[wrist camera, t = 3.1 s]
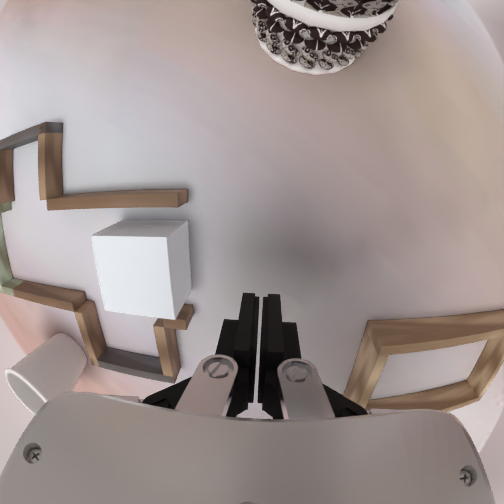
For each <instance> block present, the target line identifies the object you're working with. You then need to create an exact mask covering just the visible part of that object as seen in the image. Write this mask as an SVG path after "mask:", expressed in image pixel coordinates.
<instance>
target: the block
mask: <svg viewBox="0 0 504 504" xmlns="http://www.w3.org/2000/svg"><path fill="white" fill-rule="evenodd" d="M91 239H92V246H93V253H94V259H95V265H96V270H97V276H98V281H99V286H100V290H101V295H102V299H103V303H104V308H105V310H106V311H112V312H118V313H125V314H132V315H139V316H147V317H155V318H163V319H172V320H175V319H176V317H177V316H178V314H179V312H180V310H181V308H182V306H183V305H184V303H185V301H186V299H187V297H188V296H189V294H190V292H191V290H192V282H191V268H190V251H189V231H188V220H122V221H120V222H118V223H116V224H113V225H111V226H109V227H107V228H105V229H103V230H101V231H99V232H97V233H95V234H93V235H91Z"/></svg>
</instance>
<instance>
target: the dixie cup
mask: <svg viewBox="0 0 504 504" xmlns="http://www.w3.org/2000/svg"><path fill="white" fill-rule="evenodd" d="M86 364H87V359H86V355H85V353H84V351H83V350H82V348H81V347H80V346H79V345H78V343H77V342H76V341H75V340H74V339H72V338H71V337H70V336H68V335H66V334H64V333H57V334H56V335H54V336H53V337H52V338H50V339H49V340H47V341H46V342H45V343H43V344H42V345H41V346H39V347H38V348H37V349H35V350H34V351H33V352H31V353H30V354H29V355H27V356H26V357H25V358H23V359H22V360H21V361H19V362H18V363H17V364H16V365H14V366H13V367H12V368H11V369H10V368H8V369H6V371H5V377H6V380H7V383H8V385H9V386H10V388H11V390H12V391H13V392H14V394H15V395H16V397H17V398H18V399H19V400H20V401H21V402H22V404H23V405H24V406H25V407H26V408H27V409H28V410H30V411H31V412H32V413H33V414H34V415H36V413H37V412H38V411H39V410H40V408H41V407H42V406H43V405H44V404H45V403H46V402H47V401H48V400H49V399H50V398H52V397H53V396H55V395H57V394H60V393H65V392H72V391H73V389H74V387H75V385H76V383H77V381H78V379H79V378H80V376H81V374H82V372H83V370H84V368H85V366H86Z"/></svg>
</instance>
